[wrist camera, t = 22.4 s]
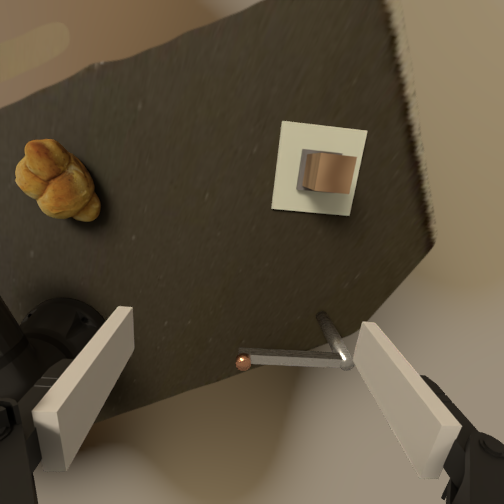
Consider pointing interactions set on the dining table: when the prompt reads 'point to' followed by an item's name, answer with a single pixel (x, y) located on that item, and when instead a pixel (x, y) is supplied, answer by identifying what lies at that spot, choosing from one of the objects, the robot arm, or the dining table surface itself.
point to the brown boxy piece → (325, 172)
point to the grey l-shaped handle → (302, 352)
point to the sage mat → (289, 161)
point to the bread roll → (57, 181)
